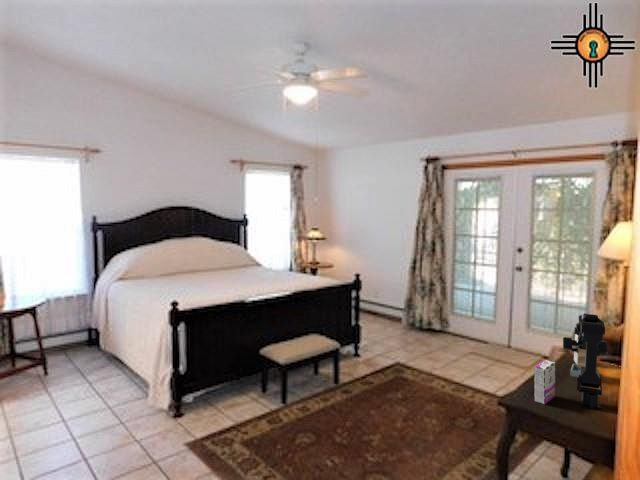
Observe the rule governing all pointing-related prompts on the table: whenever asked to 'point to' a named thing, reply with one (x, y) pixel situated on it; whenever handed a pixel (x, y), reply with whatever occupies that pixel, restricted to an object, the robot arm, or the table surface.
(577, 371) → the tray
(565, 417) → the table surface
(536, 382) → the candy bar box
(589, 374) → the robot arm
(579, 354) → the oak handle block
